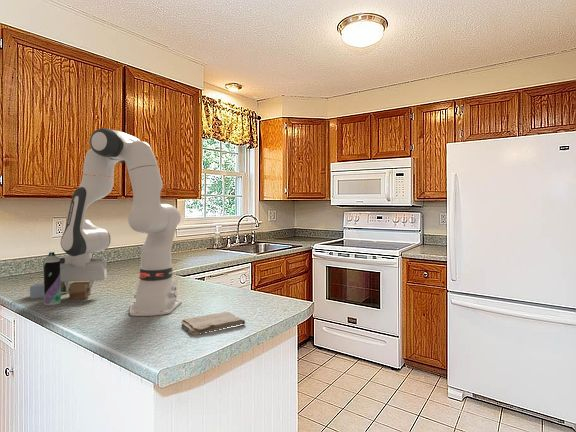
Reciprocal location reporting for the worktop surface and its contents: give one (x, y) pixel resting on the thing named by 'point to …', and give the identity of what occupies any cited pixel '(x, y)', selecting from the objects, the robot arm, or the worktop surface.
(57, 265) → the spray can
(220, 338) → the worktop surface
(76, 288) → the walnut block
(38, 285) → the slate block
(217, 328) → the washcloth
